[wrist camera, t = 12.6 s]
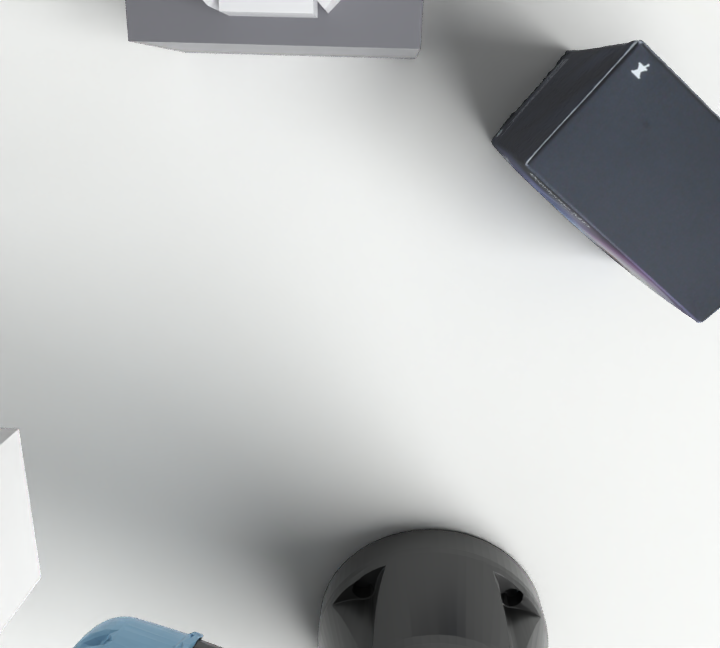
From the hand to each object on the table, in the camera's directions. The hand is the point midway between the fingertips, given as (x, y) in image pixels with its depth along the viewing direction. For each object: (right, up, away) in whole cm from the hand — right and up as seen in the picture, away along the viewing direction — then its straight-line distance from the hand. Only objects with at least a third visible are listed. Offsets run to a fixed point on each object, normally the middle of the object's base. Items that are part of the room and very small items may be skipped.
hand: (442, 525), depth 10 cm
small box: (+11, +12, +26) cm, 31 cm away
